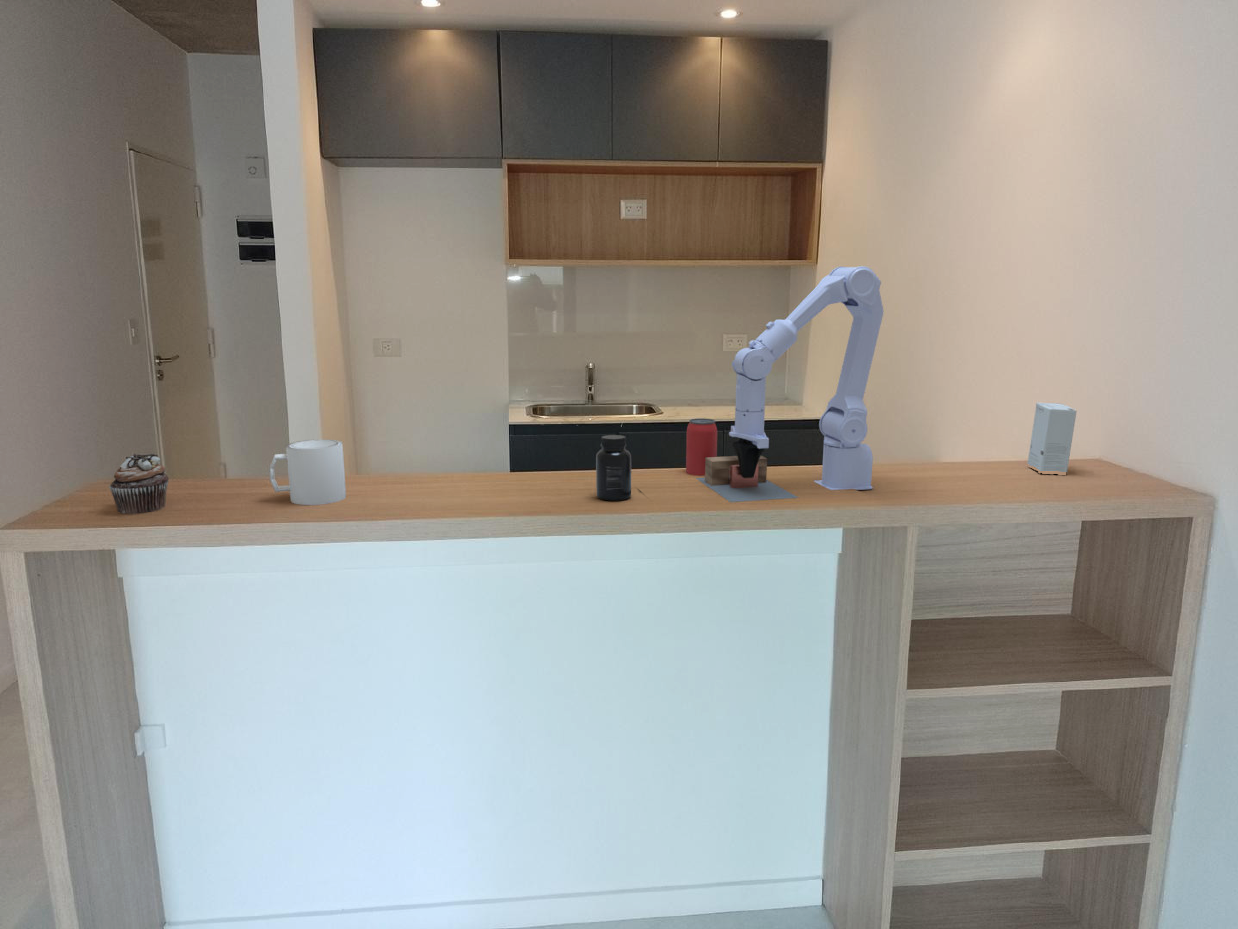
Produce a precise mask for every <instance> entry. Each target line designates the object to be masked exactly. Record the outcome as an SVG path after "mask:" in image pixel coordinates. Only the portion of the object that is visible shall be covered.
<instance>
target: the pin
mask: <svg viewBox="0 0 1238 929" xmlns="http://www.w3.org/2000/svg"><path fill="white" fill-rule="evenodd" d="M758 467H759V465H758V464H757V467H756V471H755V474H754V477H753V478H743V477H742V475H741V471H740V466H739V465H730V471H729V479H730V487H731V488H744V487H758Z"/></svg>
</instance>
